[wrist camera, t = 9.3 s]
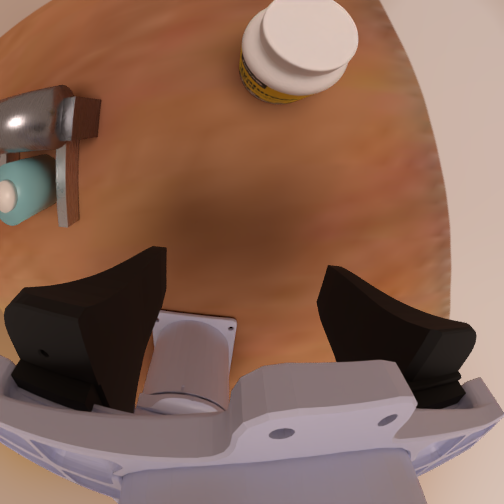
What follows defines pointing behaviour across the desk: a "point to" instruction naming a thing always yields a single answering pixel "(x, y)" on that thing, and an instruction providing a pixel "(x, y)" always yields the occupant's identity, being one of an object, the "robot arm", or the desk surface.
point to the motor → (50, 136)
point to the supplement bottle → (296, 49)
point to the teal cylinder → (27, 188)
